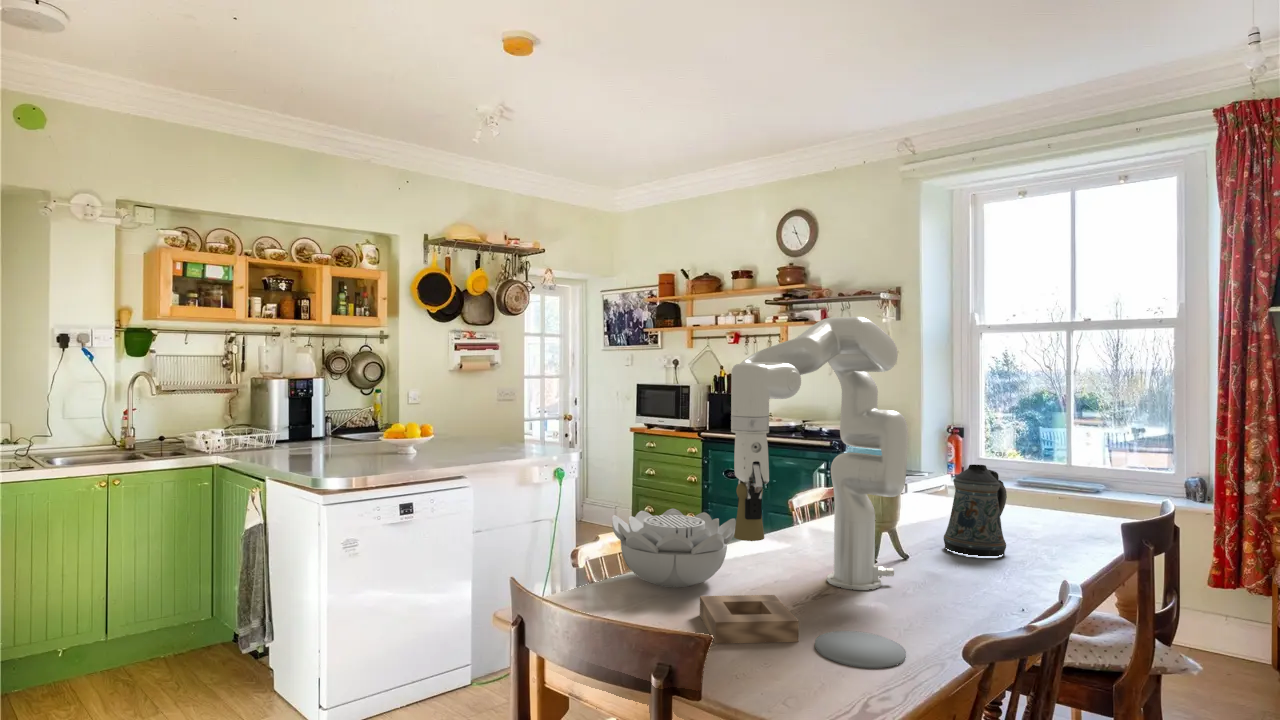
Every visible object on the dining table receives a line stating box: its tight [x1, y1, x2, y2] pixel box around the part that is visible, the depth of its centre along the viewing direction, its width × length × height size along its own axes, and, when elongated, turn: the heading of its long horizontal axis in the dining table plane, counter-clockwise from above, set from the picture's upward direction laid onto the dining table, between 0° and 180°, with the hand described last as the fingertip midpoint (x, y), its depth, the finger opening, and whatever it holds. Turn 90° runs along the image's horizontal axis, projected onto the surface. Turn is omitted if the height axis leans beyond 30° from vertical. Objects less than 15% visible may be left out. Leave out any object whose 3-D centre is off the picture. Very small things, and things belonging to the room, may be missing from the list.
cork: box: [733, 481, 765, 542], centre depth 148 cm, size 6×6×11 cm
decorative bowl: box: [611, 508, 736, 588], centre depth 178 cm, size 30×30×15 cm
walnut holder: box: [699, 594, 800, 645], centre depth 147 cm, size 16×16×4 cm
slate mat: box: [814, 630, 907, 669], centre depth 136 cm, size 16×16×1 cm
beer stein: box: [943, 464, 1008, 556], centre depth 215 cm, size 16×19×25 cm
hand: (749, 515), depth 148 cm, fingers closed on cork, 4 cm apart
